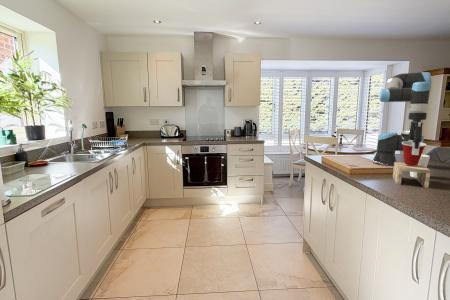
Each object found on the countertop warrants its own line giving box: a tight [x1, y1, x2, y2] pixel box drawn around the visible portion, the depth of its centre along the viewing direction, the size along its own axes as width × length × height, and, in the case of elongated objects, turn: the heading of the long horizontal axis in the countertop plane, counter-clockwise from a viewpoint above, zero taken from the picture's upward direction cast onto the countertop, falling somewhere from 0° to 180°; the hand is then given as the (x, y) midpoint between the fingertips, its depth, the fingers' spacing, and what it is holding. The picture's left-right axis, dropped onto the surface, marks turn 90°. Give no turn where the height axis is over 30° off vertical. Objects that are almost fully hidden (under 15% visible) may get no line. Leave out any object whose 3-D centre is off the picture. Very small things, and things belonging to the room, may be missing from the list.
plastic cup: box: [402, 141, 427, 165], centre depth 133 cm, size 11×11×12 cm
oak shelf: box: [392, 161, 432, 189], centre depth 135 cm, size 18×13×9 cm
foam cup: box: [409, 154, 431, 179], centre depth 146 cm, size 10×9×13 cm
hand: (412, 153), depth 133 cm, fingers open, 11 cm apart
